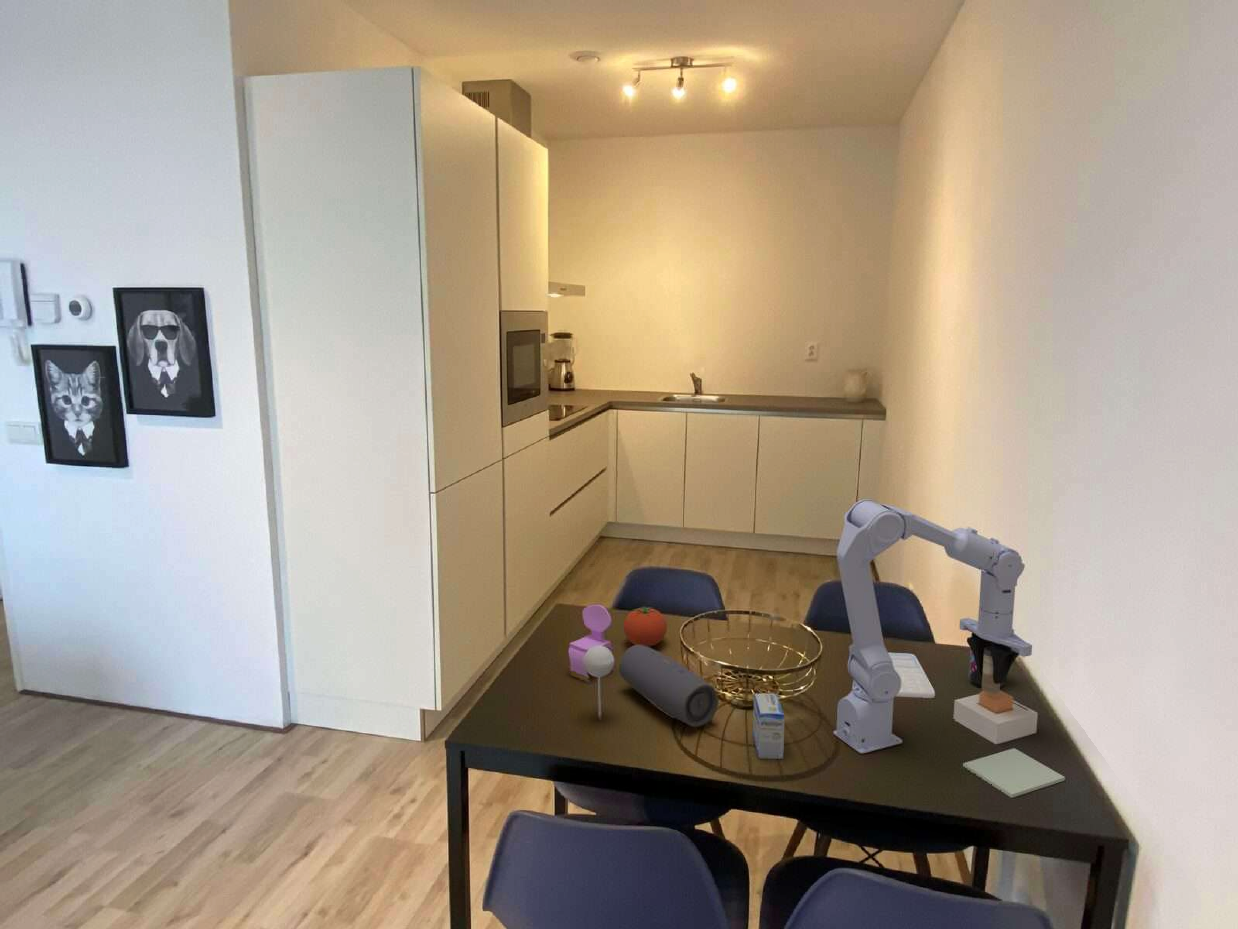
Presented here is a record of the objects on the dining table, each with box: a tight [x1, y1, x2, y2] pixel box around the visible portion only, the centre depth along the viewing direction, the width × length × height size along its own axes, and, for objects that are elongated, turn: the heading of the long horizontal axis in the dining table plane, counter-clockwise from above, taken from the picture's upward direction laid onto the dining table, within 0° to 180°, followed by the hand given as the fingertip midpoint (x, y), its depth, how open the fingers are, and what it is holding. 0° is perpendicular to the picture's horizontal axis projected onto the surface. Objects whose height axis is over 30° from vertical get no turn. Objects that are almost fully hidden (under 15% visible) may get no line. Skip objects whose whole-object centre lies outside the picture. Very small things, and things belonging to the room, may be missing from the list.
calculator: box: [888, 652, 936, 699], centre depth 171 cm, size 13×20×2 cm, turn 172°
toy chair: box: [568, 604, 615, 679], centre depth 173 cm, size 8×9×15 cm
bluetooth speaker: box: [618, 644, 719, 728], centre depth 157 cm, size 23×9×10 cm, turn 32°
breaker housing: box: [953, 693, 1039, 745], centre depth 149 cm, size 10×10×4 cm
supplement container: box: [968, 632, 1004, 689], centre depth 166 cm, size 7×7×10 cm
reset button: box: [979, 690, 1014, 714], centre depth 148 cm, size 4×4×3 cm
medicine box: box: [752, 693, 785, 760], centre depth 142 cm, size 8×4×9 cm, turn 178°
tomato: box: [623, 605, 668, 648], centre depth 188 cm, size 10×10×10 cm
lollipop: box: [583, 646, 615, 716], centre depth 153 cm, size 6×6×15 cm
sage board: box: [962, 748, 1066, 799], centre depth 134 cm, size 12×10×1 cm
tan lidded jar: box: [981, 646, 1001, 694], centre depth 146 cm, size 3×3×8 cm
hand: (991, 678), depth 147 cm, fingers closed on tan lidded jar, 3 cm apart
